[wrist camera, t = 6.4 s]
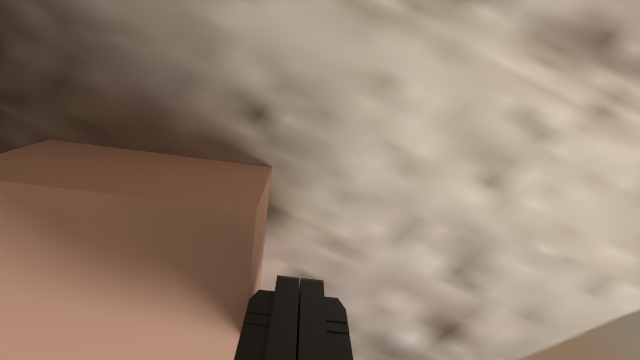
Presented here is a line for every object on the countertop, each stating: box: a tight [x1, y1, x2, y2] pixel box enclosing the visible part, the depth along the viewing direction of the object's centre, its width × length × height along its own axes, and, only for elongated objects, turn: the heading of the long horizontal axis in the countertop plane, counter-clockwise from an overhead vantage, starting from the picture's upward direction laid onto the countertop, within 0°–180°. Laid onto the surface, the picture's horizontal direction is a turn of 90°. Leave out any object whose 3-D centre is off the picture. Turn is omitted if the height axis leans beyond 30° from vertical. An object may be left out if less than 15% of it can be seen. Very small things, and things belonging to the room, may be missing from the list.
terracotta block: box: [0, 139, 272, 360], centre depth 12 cm, size 8×8×4 cm
